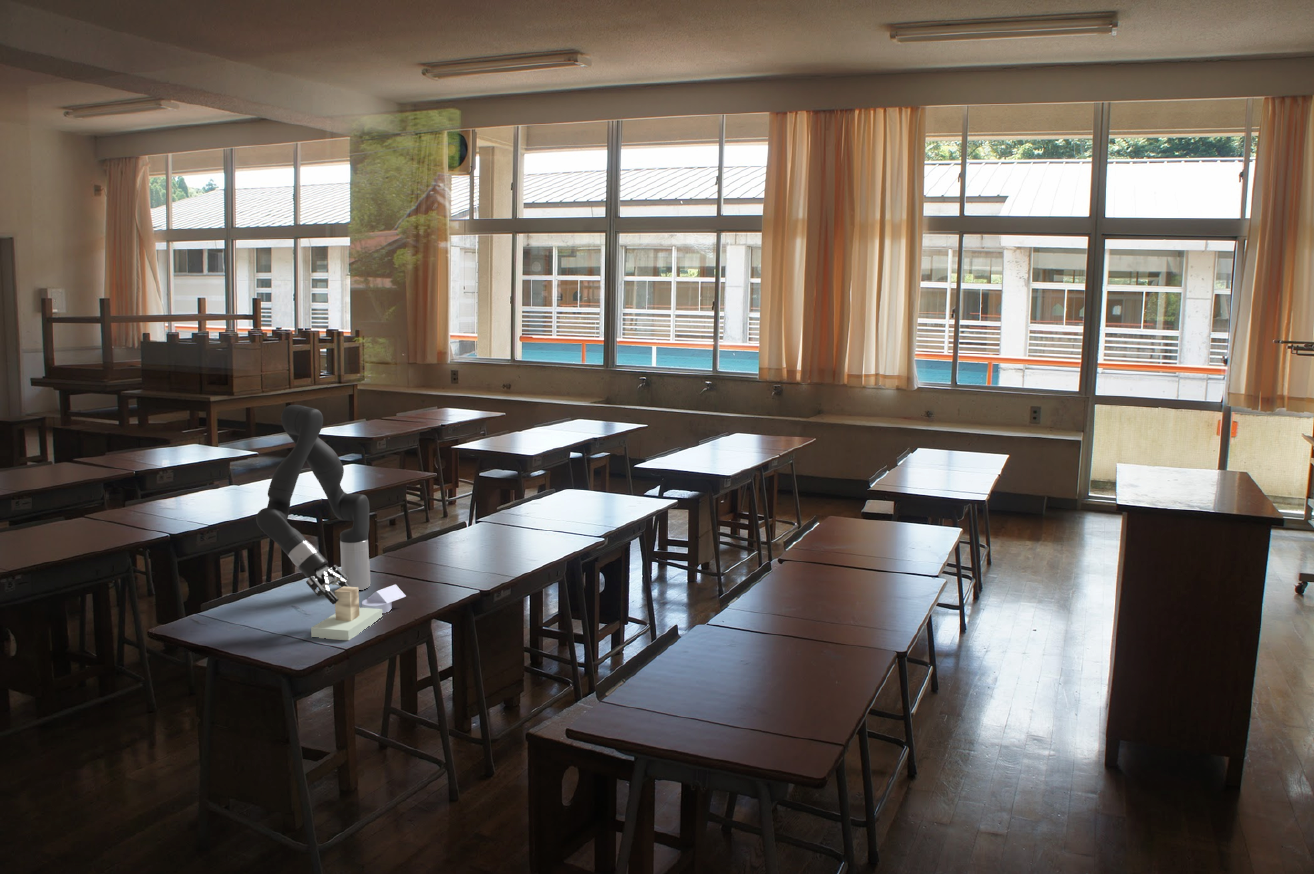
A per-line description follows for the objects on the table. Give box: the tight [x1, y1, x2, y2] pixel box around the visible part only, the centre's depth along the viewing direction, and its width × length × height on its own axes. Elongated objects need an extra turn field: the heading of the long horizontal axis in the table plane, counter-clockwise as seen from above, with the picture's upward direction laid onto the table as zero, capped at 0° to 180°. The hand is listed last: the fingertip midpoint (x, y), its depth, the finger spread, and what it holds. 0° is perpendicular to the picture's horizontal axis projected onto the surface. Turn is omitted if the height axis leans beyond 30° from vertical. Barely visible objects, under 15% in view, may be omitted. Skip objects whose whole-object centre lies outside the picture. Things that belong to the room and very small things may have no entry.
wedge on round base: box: [361, 583, 407, 613], centre depth 291 cm, size 9×7×13 cm
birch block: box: [334, 586, 360, 621], centre depth 274 cm, size 5×5×9 cm
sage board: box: [310, 606, 384, 641], centre depth 275 cm, size 20×12×3 cm, turn 169°
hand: (343, 598), depth 274 cm, fingers open, 8 cm apart
